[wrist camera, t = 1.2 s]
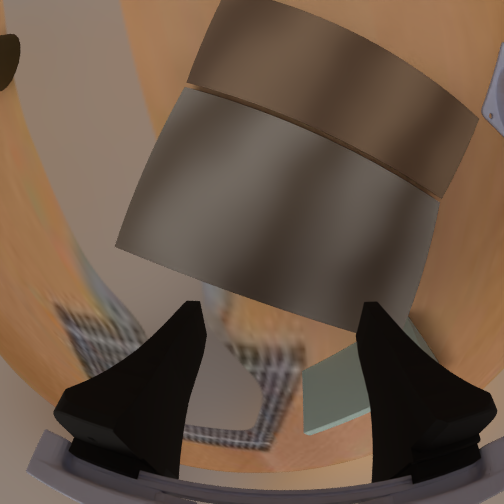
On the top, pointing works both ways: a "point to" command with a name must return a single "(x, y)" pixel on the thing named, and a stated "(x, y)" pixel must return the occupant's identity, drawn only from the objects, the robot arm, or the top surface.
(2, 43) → the brown tall rounded piece
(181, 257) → the grey oak plank
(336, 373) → the l-shaped corner panel
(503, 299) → the top surface
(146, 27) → the top surface
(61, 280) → the top surface
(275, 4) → the walnut floor row
